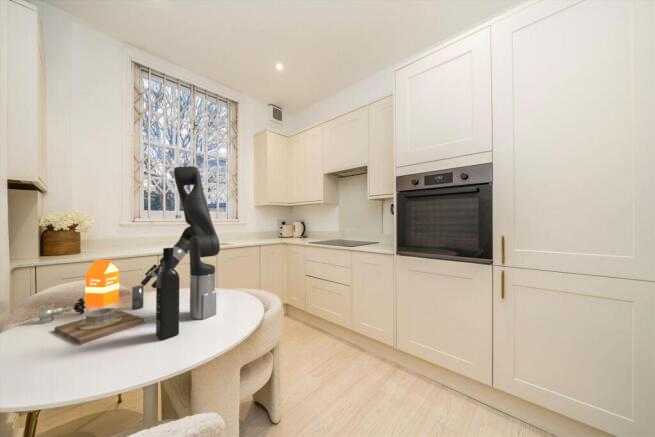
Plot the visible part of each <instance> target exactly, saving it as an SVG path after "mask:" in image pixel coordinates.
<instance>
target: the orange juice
mask: <svg viewBox="0 0 655 437" xmlns="http://www.w3.org/2000/svg"><path fill="white" fill-rule="evenodd" d="M84 288H85V289H84V290H85V291H84V292H85V303H84V306H85V305H91V306H90V307H106V306H109V305H111V304H113V303H117V302H119V301H120V270H119V268H118V267H117V266H116V265H115V263H114V262H113V261H112V260H101V259H100V260H98V259H95V260H94V261H93V262H92V264H91V265H90V267H89V269H88V270H87V271H86V273H85V287H84Z"/></svg>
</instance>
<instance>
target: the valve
mask: <svg viewBox="0 0 655 437" xmlns="http://www.w3.org/2000/svg"><path fill="white" fill-rule="evenodd" d="M85 304H86V300H84V298H83V297H80V298H79V299H77V302H75V304H73V306H65V308H64V307H61V306H59V307H56V308H55V303H46V304H45V303H44V304H41V305H39V306H38V311H39V312H38V314H37V317H38V325H46V324H51V323H53V322H54V321H55V316H61V315H62V314H63V313H64V312H65V313H68V312H71V310H73V311H75V312H76V313H78V315H83V314H84V313H86V312H85V309H86V306H85Z"/></svg>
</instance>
